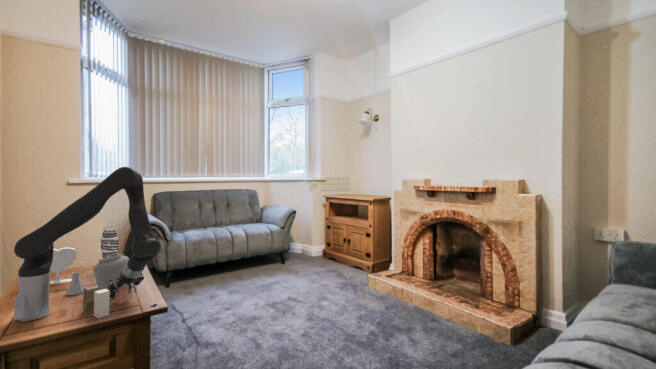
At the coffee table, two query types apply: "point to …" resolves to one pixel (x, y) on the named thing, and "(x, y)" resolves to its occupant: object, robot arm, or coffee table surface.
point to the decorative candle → (109, 242)
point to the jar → (109, 269)
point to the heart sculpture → (62, 262)
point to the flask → (75, 285)
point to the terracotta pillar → (122, 295)
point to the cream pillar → (101, 303)
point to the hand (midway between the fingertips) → (120, 291)
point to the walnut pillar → (89, 299)
